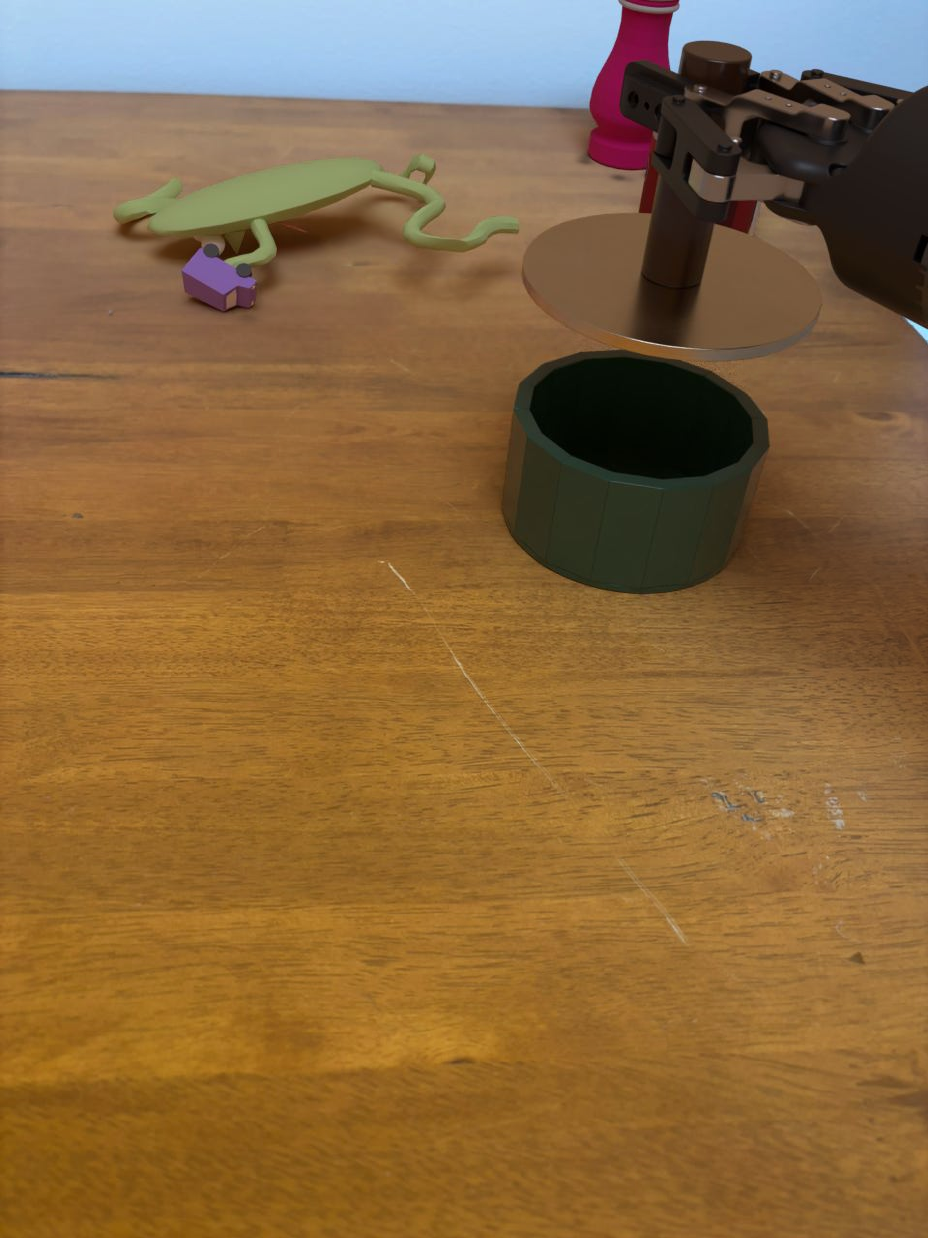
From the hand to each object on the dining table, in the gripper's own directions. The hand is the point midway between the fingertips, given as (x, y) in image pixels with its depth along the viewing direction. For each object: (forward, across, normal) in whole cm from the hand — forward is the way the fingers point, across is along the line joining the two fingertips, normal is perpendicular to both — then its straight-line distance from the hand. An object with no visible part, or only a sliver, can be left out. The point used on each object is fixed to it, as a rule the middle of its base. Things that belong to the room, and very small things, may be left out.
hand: (658, 80), depth 49 cm
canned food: (+16, -22, +22) cm, 35 cm away
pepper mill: (+37, -36, +22) cm, 56 cm away
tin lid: (-3, 0, +8) cm, 9 cm away
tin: (-3, 0, +21) cm, 21 cm away
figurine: (+32, -2, +21) cm, 39 cm away
